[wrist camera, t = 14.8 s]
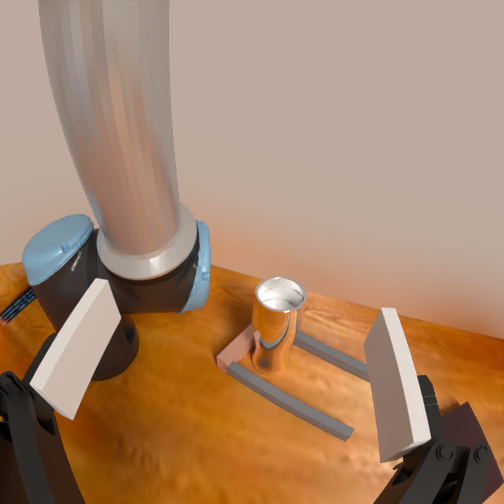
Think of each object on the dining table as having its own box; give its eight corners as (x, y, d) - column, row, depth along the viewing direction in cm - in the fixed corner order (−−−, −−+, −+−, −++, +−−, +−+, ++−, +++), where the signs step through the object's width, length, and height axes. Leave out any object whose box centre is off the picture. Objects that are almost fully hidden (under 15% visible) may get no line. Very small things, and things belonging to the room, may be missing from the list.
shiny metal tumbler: (253, 380, 40) (259, 316, 31) (245, 345, 46) (248, 277, 37) (296, 373, 41) (316, 309, 33) (285, 340, 47) (299, 273, 38)
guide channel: (217, 366, 42) (216, 356, 40) (264, 320, 51) (265, 309, 49) (345, 441, 31) (352, 434, 29) (377, 377, 40) (384, 368, 38)
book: (459, 408, 33) (470, 399, 31) (494, 486, 17) (507, 480, 15) (409, 435, 31) (419, 427, 29) (444, 527, 15) (457, 524, 13)
